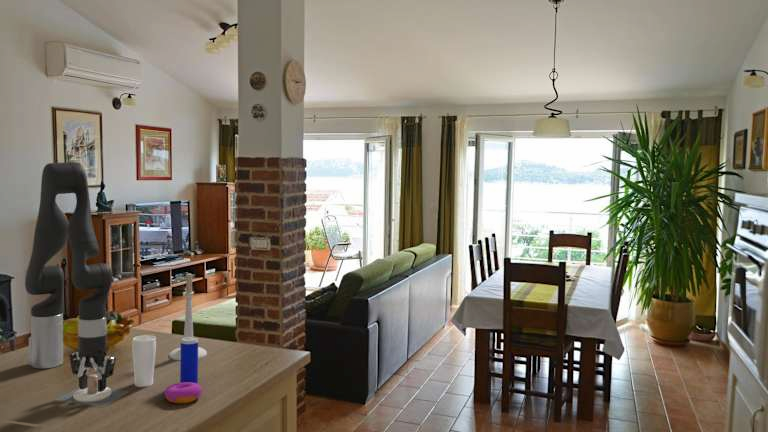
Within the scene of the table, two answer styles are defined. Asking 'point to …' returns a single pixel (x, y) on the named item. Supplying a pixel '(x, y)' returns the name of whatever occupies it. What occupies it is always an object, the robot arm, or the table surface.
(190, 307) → the candlestick
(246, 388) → the table surface
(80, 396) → the lid
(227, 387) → the table surface
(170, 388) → the donut
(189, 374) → the beverage can
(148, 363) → the drinking glass
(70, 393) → the mat
